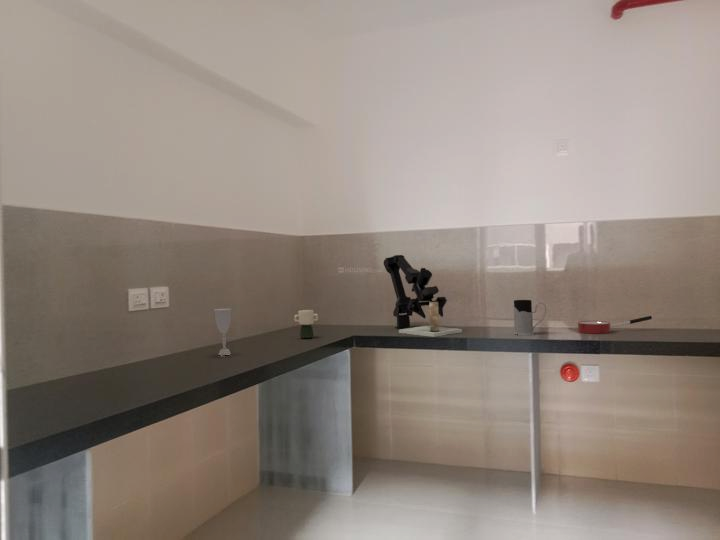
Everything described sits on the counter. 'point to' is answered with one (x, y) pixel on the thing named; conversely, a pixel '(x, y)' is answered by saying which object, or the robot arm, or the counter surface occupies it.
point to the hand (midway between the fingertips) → (433, 317)
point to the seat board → (426, 331)
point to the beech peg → (434, 317)
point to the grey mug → (524, 317)
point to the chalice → (223, 326)
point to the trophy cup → (306, 322)
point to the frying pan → (603, 325)
